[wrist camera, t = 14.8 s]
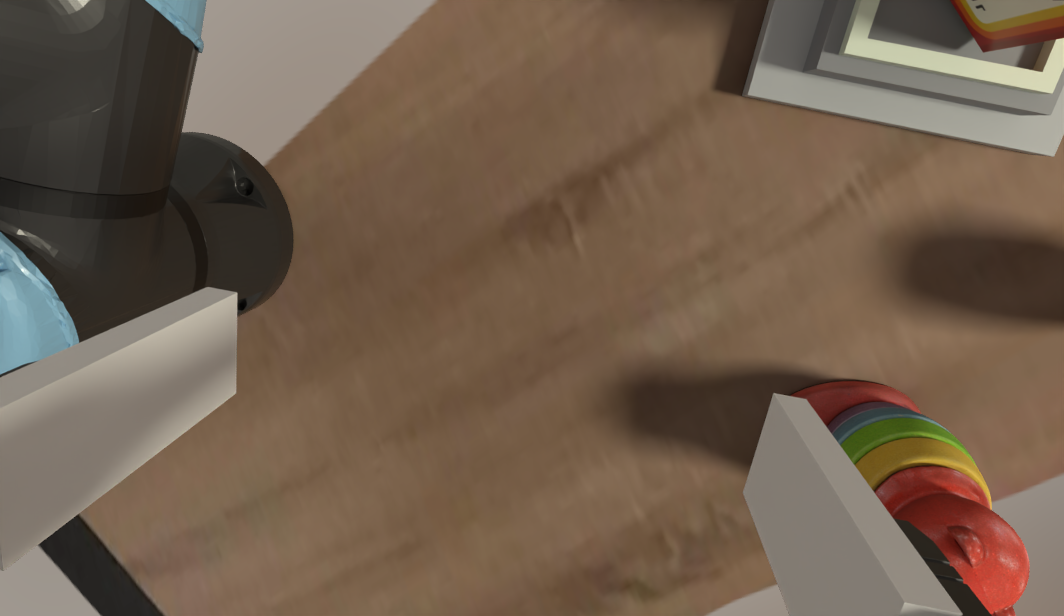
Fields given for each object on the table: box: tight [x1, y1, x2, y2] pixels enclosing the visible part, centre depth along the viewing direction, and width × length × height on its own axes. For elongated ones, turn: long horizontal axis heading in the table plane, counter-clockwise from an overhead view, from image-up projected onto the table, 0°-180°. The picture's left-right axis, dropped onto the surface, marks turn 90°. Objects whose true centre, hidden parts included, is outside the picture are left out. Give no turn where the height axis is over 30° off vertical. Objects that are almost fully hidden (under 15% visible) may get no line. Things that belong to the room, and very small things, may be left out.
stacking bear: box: [791, 381, 1029, 616], centre depth 41 cm, size 11×10×18 cm
